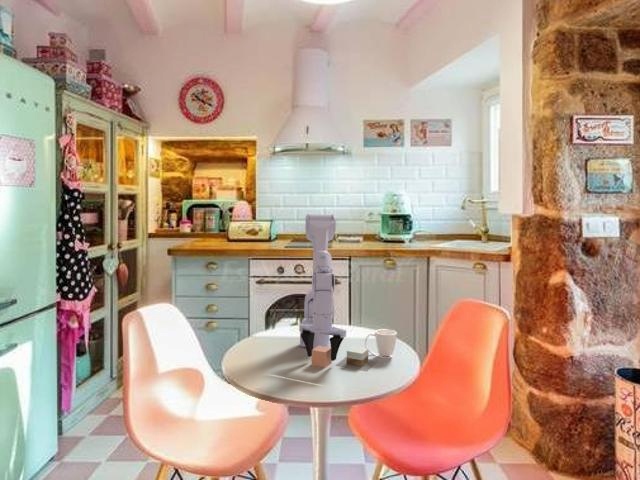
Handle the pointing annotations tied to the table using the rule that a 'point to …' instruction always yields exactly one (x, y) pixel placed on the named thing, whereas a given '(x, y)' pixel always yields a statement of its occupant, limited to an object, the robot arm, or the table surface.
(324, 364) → the block
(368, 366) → the coaster
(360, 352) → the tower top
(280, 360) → the table surface
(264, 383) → the table surface
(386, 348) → the cup
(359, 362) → the tower base
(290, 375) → the table surface
